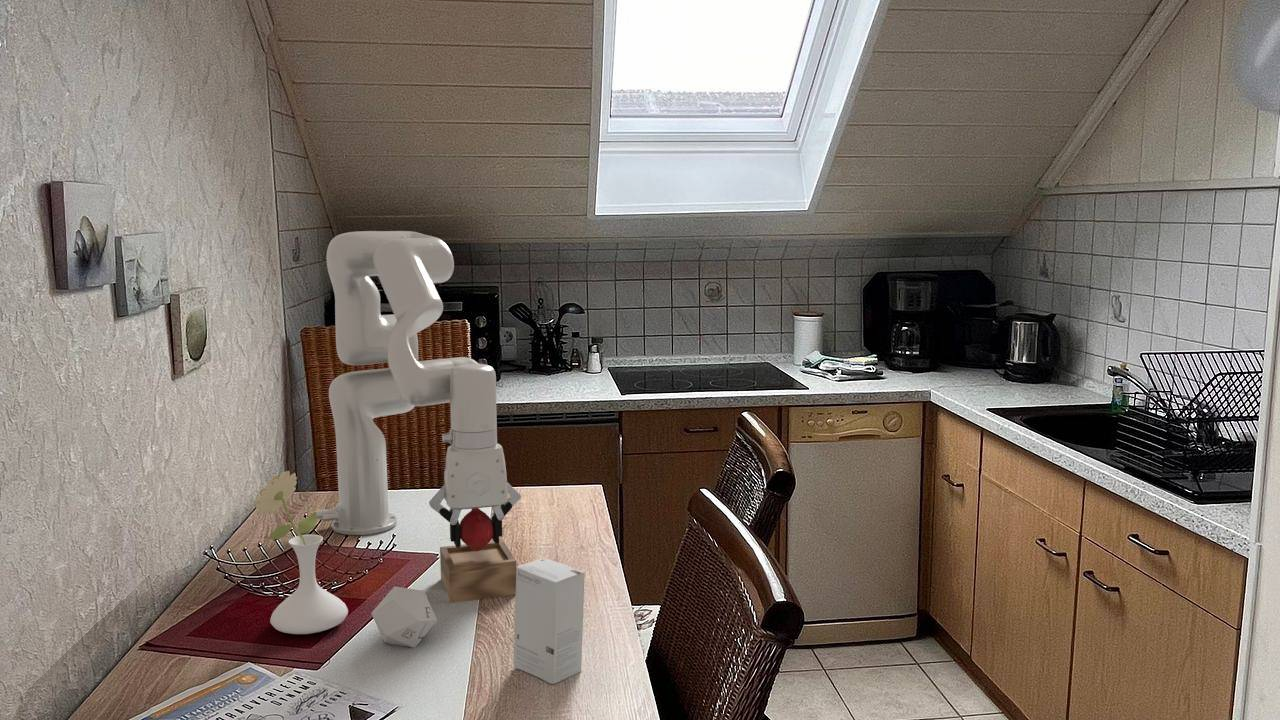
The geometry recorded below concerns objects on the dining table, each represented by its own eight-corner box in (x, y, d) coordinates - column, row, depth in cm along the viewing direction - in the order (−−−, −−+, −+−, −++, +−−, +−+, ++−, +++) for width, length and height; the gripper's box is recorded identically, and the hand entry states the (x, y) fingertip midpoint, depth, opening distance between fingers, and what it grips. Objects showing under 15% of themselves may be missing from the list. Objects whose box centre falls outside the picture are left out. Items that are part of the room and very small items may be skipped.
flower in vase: (326, 605, 161) (319, 454, 157) (362, 626, 153) (355, 468, 149) (247, 628, 152) (237, 469, 148) (280, 652, 144) (271, 484, 140)
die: (388, 664, 142) (428, 610, 142) (350, 624, 145) (389, 571, 145) (418, 660, 149) (456, 609, 149) (381, 623, 153) (419, 572, 153)
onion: (497, 545, 171) (496, 500, 170) (489, 557, 165) (488, 511, 164) (464, 544, 171) (463, 499, 170) (455, 556, 166) (454, 509, 164)
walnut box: (450, 602, 162) (449, 568, 161) (440, 579, 172) (439, 547, 172) (516, 594, 166) (516, 560, 165) (503, 571, 176) (503, 540, 175)
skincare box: (512, 668, 139) (510, 566, 137) (543, 654, 144) (542, 555, 141) (555, 686, 134) (554, 581, 131) (586, 671, 138) (585, 568, 136)
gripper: (424, 447, 159) (427, 555, 162) (530, 439, 165) (531, 544, 167) (418, 437, 166) (421, 541, 169) (520, 430, 172) (521, 531, 174)
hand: (476, 541), depth 168 cm, fingers closed on onion, 5 cm apart
